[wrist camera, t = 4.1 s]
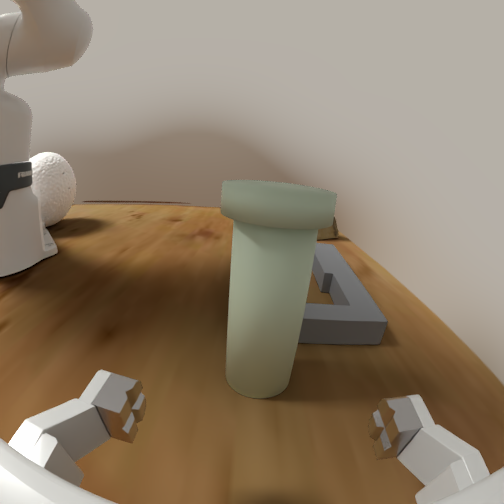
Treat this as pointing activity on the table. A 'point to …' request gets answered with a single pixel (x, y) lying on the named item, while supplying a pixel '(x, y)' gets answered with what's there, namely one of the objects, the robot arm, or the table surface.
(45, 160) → the white lumpy blob
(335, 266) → the keyhole board
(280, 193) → the sage post
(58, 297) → the table surface
